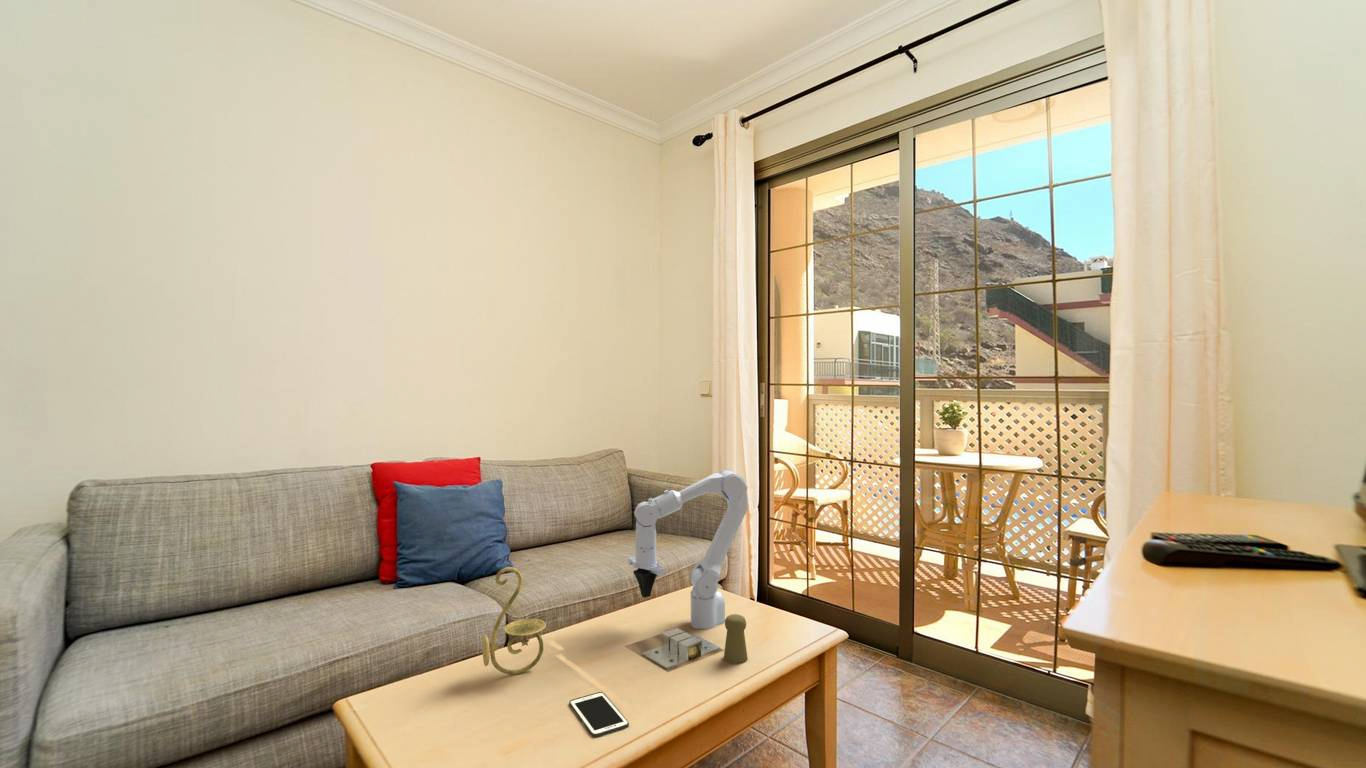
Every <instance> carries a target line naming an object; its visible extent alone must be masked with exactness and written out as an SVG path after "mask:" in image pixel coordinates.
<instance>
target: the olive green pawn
mask: <svg viewBox="0 0 1366 768" xmlns="http://www.w3.org/2000/svg"><path fill="white" fill-rule="evenodd" d="M724 626H725V629H726V636H725V642H724V643H725V645H724V651H723V653H724V654H723V660H724V661H725V662H727V663H729V664H733V665H740V664H745V663H746V662H748V651H747V643H746V636H745V630H746V628H747V620H746V618H745V617H744V616H743V615H741V614H738V613H737V614H736V613H734V614H729V615H727V616H726V617H725V622H724Z"/></svg>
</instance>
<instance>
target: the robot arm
mask: <svg viewBox="0 0 1366 768" xmlns="http://www.w3.org/2000/svg"><path fill="white" fill-rule="evenodd" d="M747 492H748V486H747V484H746V481H745V479H744V477H742V475H740V474H739V473H735V472H734V471H732V470H731V469H723V470H721V471H719V472H714V473H712V474H710V475H708V476H706V477H705V478H702V479H701V480H699V481H696V482H695V483H693V484H690V485H689V486H687V487H685V488H683V489H681V490H679V491H677V490H674V489H671V490H669V489H666V490H663V494H660V495H658V496H656V497H653V498H652V497H650V498H648V499H647V500H648V501H642V502H640V503H638V504H637V505H636V506H635V510H634V511H633V514H634V517H635V519H636V522H635V556H630V557H628V558H627V560H628V561H627V562H628V565H629V566H632V568H633V569H635V570H633V575H634V576H635V578H636V581H637V583H638V587H639V591H640V595H641V597H642V598H648V597H649V598H650V597H651V594H652V591H653V587H654V583H655V581H656V578H657V577H663V576H665V575H666V572H665V570H666V569H665V567H663V566H662V565H660V564H659V563H658V561H657V529H656V523H657V521H658V519H661V518H664V517H667V516H668V515H671V514H673V513H675V512H677V511H679V510H681V509H682V507H683V505H684V503H685V502H688V501H691V500H692V499H695V498H698V497H700V496H703V495H705V494H708V493H715V494H723V495H724V498H725V500H726V503H727V509H726V511H725V513H724V515H723V517H722V519H721V521H720V523H719V526H718V528H717V530H716V532H715V534H714V536H713V538H712V541H711V542H710V545H709V547H708V548H707V551H706V553H705V555H704V556H703V558H701V559H700V560H699V562H698V564H697V565H696V566H695V567H694V568H692V570H691V571H690V573H689V581H690V583H691V585H692V589H691V591H690V626H692V627H693V628H695V629H697V630H698V629H699V630H709V629H712V628H715V627H717V626H718V625H721V624H725V619H726V601H725V597H724V596H723V594H722V593H721V592H720V591H718V589H719V588H718V587H719V585H718V583H719V579H720V577H721V568H722V565H723V563H724V560H725V558H726V556H727V554H728V552H729V550H730V548H731V546H732V543H733V541H734V539H735V537H736V536H737V535H736V534H737V533H738V530H739V528H740V526H741V524H742V522H743V520H744V518H745V515H746V513H747V511H748V508H749V504H748V503H749V501H748V493H747Z"/></svg>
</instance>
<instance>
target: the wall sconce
mask: <svg viewBox="0 0 1366 768" xmlns="http://www.w3.org/2000/svg"><path fill="white" fill-rule="evenodd" d="M506 572H512V573H514V574H515V575H516V577H517V578H518V583H517V587H516V589H515V591H514V592H513V594H512V595H511V597H510V598H509V600H508V601H507V603H506V605H505V606H504V607H503V609H502V610H501V612H500V614H499V615H498V618H497V620H496V623H495V625H494V628H493V630H492V633H491V637H490V642H489V637H488V635H487V634H486V633H485V634H483V635H482V644H481V646H482V648H481V649H482V658H483V665H484V667H487V666H488V665H489V663H490V660H491V664H492V666H493V668H495V669H496V670H497V671H498V672H500V673H503V674H505V675H513V676H514V675H519V674H522V673H525V672H527V671H529V670H531V669H533V667H535V666H536V665H537V664H538V662H539V661H540V660H541V658H542V655H543V652H544V641H543V638H542V635H541V634H540V632H542V631H543V630H544V629H545V628H546V625H547V623H546V622H545V621H544V620H542V619H538V618H523V619H518V620H514V621H511V622H509V623H507V624H506V625H505V626H504V629H503V631H504V633H505V634H507V635H510V636H511V637H510V638H509V639H508V642H507V644H506V645H507V646H506V647H507V651H508V653H510V654H511V655H517V654H518V655H519V654H520V653H521V652H522V651H523V649H521V648H518V649H513V647H512V644H513V642H514V641H515V640H516V639H518V638H521V637H522V638H523V640H520V641H519V642H520V643H521V647H524V646H529V645H528V643H529V642H530V639H527V637H529V636H532V635H533V636H535V637H536V639H537V641H538V653H537V655H536V658H534V659H533V661H532V662H530V663H529V664H527V665H526V666H524V667H521V668H518V669H507V668H504V667H502V666H501V665H500V664H499V663H498V661H497V659H496V654H495V652H496V651H498V645H497V644H496V638H497V633H498V630H499V628H500V625H501V623H502V620H503V618H504V616H505V615H506V614H507V612H508V610H509V609H510V607H511V605H513V603H514V602H515V600H516V598H517V596H518V595H519V594H520V592H521V589H522V586H523V575H522V573H521V572H520V571H519V570H518V569H517V568H515V567H512V566H507V567H504V568H501V569H500V570H499V571H498V572H497V573H496V575H495V583H496V584H498V585H499V586H503V585H505V584H507V582H508V579H507V578H505V579H504V580H503V581H501V580H500V577H501V576H502V574H504V573H506Z"/></svg>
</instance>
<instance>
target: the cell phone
mask: <svg viewBox="0 0 1366 768" xmlns="http://www.w3.org/2000/svg"><path fill="white" fill-rule="evenodd" d="M568 704H569V707H570V708H571V710H572V711H573V712H574V714H575V715H576V716H577V718H578V720H579V721H580V722H581V723H582V724H583V727H584V728H585V729H586V730H587V732H588V734H589V735H590V736H591V737H592V738H595V739H596V738H600V737H603V736H606V735H609V734H613V733H616V732H619V731H623V730H626V729H628V728H629V727H630V726H629V725H630V724H629V721H628V719H627V718H626V717H625V716H624V714H623V713H621V711H620V710H619V709H618V708H617V707H616V705H615V704H614V703H613V702H612V701H611V700H610V699H609V697H608V696H607V695H606V694H605V693H604V692H603V691H598V692H594V693H590V694H588V695H584V696H580V697H577V698H576V697H575V698H573V699H571V700H569V703H568Z"/></svg>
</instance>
